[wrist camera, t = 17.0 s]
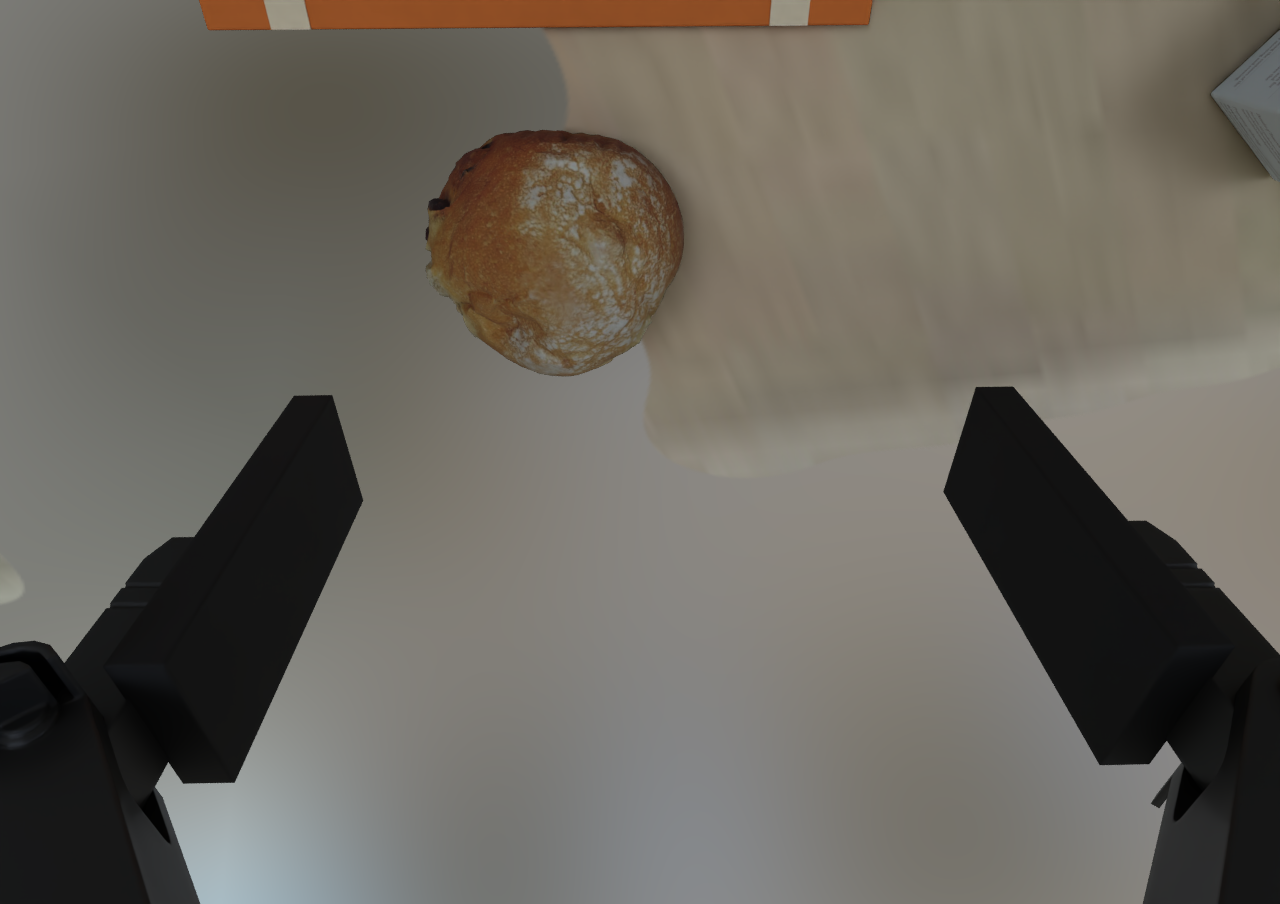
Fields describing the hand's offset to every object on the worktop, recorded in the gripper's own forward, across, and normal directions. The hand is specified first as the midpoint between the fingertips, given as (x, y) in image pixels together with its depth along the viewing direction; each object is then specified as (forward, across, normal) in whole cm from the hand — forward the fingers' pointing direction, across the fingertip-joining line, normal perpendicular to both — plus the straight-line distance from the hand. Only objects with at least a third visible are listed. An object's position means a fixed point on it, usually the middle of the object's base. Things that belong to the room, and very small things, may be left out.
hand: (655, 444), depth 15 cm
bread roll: (+19, -4, -2) cm, 19 cm away
